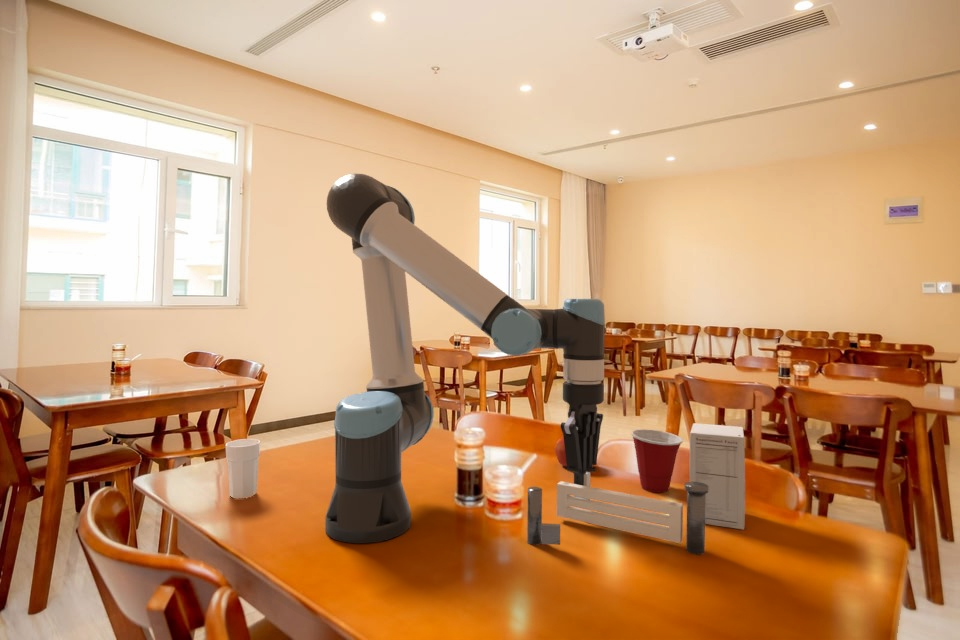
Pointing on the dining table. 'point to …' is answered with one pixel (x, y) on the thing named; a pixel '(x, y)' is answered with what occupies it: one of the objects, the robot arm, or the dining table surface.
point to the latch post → (539, 521)
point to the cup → (242, 467)
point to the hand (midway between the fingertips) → (581, 505)
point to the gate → (621, 511)
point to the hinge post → (696, 517)
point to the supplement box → (720, 472)
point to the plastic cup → (655, 458)
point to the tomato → (561, 452)
